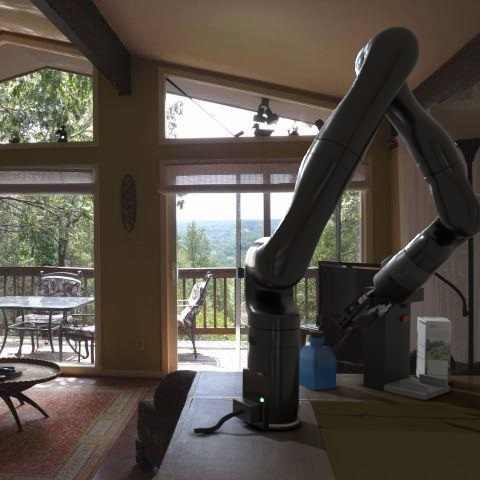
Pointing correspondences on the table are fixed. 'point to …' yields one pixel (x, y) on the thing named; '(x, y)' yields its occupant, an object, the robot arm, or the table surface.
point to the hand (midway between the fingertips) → (351, 325)
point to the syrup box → (433, 347)
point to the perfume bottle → (317, 363)
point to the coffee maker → (396, 354)
